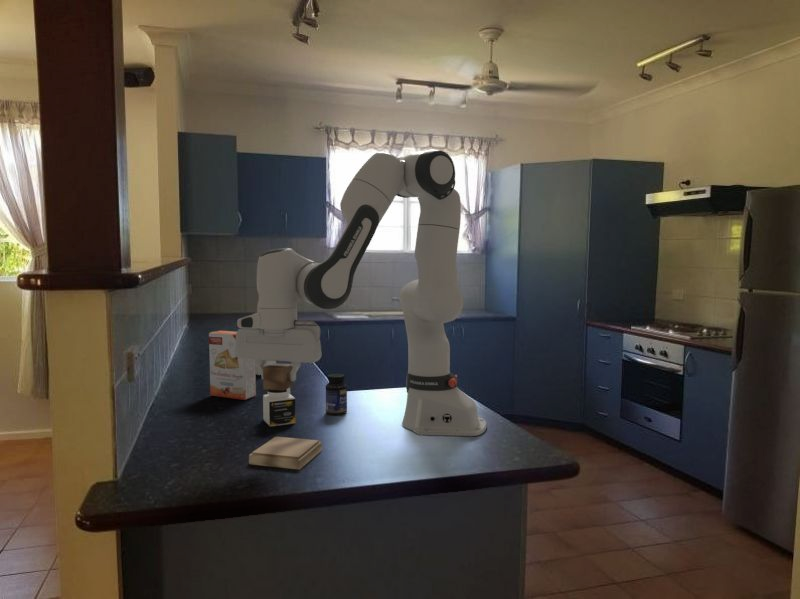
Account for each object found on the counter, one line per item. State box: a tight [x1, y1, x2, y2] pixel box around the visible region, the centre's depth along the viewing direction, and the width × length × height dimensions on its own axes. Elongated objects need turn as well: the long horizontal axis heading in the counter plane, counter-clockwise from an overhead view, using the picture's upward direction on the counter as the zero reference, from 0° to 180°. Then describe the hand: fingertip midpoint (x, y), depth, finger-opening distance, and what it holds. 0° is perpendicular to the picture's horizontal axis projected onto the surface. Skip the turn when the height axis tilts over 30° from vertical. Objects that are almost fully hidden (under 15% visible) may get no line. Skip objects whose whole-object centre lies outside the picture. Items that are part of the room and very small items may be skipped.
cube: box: [262, 362, 295, 391], centre depth 126 cm, size 5×5×5 cm
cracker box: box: [208, 330, 257, 401], centre depth 177 cm, size 14×6×21 cm, turn 68°
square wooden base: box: [248, 436, 323, 470], centre depth 124 cm, size 12×12×2 cm
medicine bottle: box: [262, 387, 296, 427], centre depth 150 cm, size 7×7×12 cm
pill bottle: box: [325, 373, 348, 416], centre depth 159 cm, size 6×6×11 cm
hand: (278, 379), depth 126 cm, fingers closed on cube, 5 cm apart
